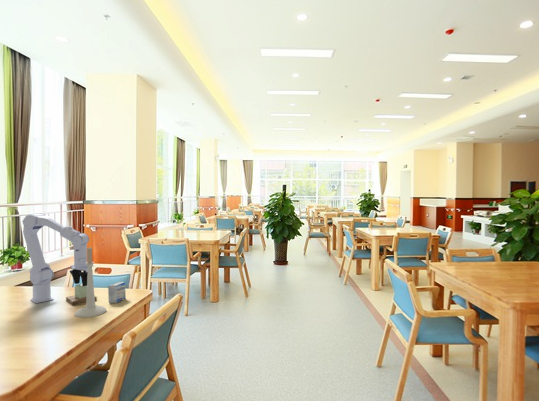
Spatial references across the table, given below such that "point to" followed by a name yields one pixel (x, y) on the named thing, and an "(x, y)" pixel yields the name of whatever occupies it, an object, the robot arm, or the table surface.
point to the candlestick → (90, 293)
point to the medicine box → (116, 292)
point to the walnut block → (77, 300)
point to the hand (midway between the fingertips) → (81, 284)
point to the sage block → (80, 291)
